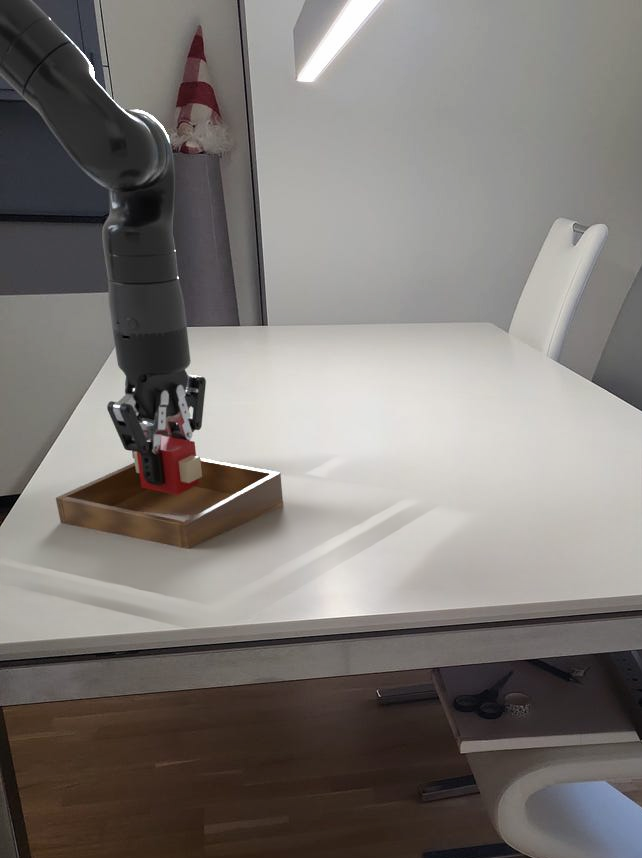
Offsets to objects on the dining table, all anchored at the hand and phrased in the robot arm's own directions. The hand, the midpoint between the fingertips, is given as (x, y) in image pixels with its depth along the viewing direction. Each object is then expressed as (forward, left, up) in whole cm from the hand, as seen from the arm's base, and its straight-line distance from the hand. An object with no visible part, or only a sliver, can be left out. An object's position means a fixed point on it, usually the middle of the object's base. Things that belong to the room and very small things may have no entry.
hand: (169, 476), depth 118 cm
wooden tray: (0, 0, -5) cm, 5 cm away
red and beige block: (0, 0, -1) cm, 1 cm away
